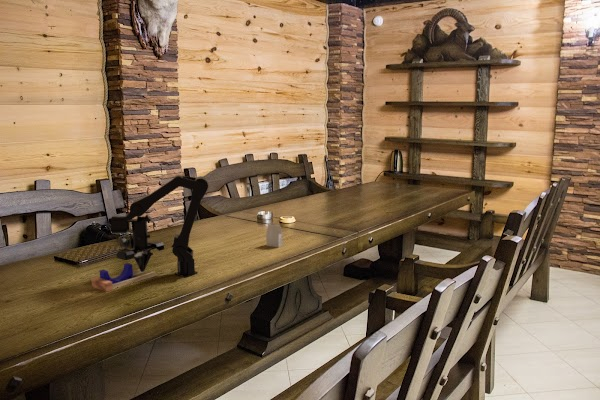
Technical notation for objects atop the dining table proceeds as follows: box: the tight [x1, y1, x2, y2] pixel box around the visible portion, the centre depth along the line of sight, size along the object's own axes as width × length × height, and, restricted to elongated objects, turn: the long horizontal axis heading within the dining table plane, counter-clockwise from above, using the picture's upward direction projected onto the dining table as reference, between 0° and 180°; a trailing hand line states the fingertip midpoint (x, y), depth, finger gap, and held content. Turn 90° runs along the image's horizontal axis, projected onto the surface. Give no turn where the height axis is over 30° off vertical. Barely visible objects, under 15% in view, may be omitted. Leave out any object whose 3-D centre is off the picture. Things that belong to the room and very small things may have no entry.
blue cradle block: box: [99, 262, 134, 284], centre depth 205 cm, size 12×4×6 cm, turn 143°
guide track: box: [91, 269, 157, 292], centre depth 207 cm, size 9×22×3 cm, turn 144°
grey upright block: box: [265, 223, 284, 248], centre depth 258 cm, size 4×7×10 cm, turn 61°
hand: (142, 271), depth 213 cm, fingers closed
